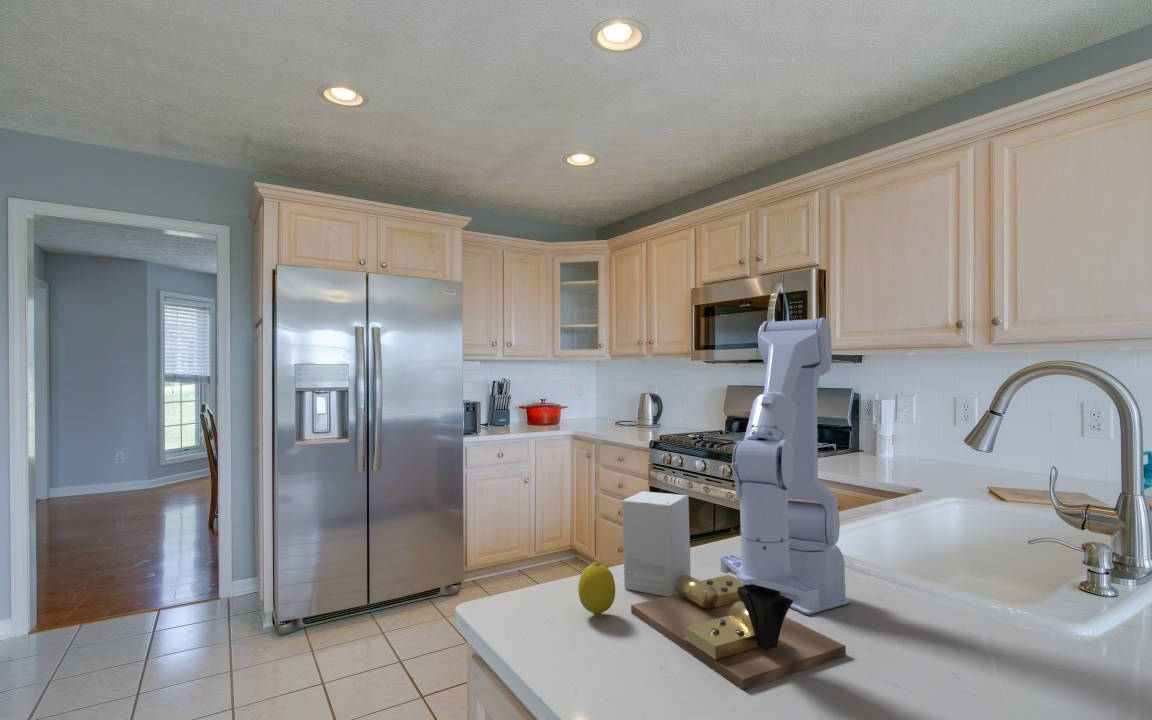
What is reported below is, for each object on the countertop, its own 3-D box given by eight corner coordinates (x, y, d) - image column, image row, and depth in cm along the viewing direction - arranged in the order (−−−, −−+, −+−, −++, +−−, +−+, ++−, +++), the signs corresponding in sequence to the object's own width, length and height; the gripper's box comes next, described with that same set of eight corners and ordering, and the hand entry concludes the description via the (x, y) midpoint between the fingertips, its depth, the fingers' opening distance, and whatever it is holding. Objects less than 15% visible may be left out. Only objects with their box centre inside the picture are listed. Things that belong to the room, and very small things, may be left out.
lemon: (613, 625, 83) (612, 569, 83) (575, 622, 84) (574, 567, 84) (618, 609, 88) (617, 557, 88) (582, 607, 89) (581, 555, 89)
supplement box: (692, 581, 100) (690, 494, 100) (673, 599, 92) (671, 505, 92) (644, 572, 104) (642, 489, 105) (622, 589, 96) (620, 499, 97)
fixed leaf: (723, 582, 95) (723, 562, 95) (755, 597, 88) (755, 576, 88) (670, 593, 90) (670, 573, 90) (700, 611, 84) (700, 588, 84)
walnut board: (719, 592, 94) (719, 584, 94) (845, 655, 73) (845, 645, 73) (631, 612, 87) (631, 604, 87) (742, 690, 65) (742, 679, 65)
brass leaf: (747, 622, 80) (746, 599, 80) (780, 640, 74) (779, 615, 74) (685, 639, 75) (684, 614, 75) (715, 659, 70) (715, 633, 70)
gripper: (701, 527, 76) (704, 630, 76) (785, 557, 63) (789, 682, 63) (742, 520, 80) (744, 619, 79) (830, 547, 67) (833, 666, 66)
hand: (767, 646), depth 71 cm, fingers closed
